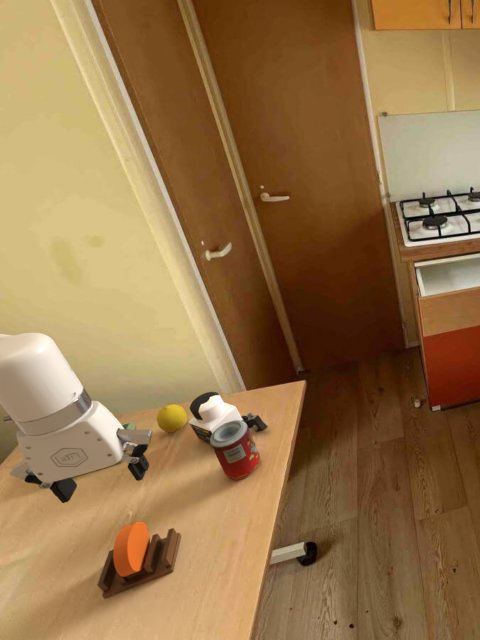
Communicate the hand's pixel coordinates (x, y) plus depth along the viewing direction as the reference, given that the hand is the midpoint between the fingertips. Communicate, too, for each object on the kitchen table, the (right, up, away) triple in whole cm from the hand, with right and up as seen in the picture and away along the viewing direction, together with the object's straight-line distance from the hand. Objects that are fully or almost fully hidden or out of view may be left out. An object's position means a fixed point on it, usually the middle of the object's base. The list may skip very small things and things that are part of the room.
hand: (107, 483), depth 70 cm
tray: (-32, -9, +29) cm, 44 cm away
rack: (-1, -20, +8) cm, 21 cm away
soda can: (+6, -11, +26) cm, 29 cm away
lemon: (-16, -6, +35) cm, 39 cm away
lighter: (+3, -6, +35) cm, 36 cm away
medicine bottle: (-4, -6, +34) cm, 35 cm away
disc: (-1, -15, +6) cm, 16 cm away
